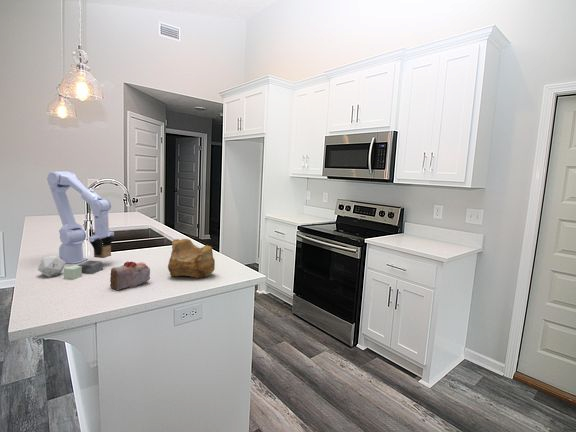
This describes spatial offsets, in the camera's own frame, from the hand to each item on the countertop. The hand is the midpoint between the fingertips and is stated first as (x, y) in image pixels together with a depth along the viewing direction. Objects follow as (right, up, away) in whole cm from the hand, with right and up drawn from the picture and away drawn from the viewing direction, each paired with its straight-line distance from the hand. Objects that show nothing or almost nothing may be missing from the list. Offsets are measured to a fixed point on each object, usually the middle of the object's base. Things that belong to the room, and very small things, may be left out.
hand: (102, 253), depth 154 cm
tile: (-8, -6, -3) cm, 10 cm away
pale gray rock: (-13, -8, -15) cm, 21 cm away
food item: (+24, -11, -23) cm, 35 cm away
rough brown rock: (+42, -9, -7) cm, 44 cm away
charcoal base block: (-1, -7, -8) cm, 11 cm away
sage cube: (-3, -8, -17) cm, 19 cm away
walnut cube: (0, -2, 0) cm, 2 cm away
